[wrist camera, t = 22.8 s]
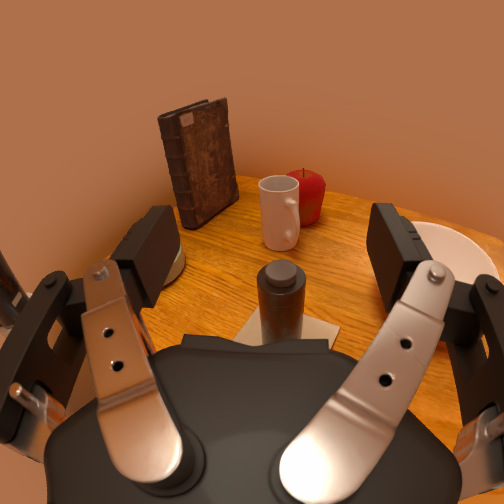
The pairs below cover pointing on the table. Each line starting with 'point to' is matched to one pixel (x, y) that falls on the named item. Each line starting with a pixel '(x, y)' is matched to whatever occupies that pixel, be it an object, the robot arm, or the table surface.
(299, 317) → the thermos flask
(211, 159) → the book
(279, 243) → the mug
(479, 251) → the bowl
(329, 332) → the tile
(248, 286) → the table surface
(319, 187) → the apple
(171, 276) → the celadon bowl
